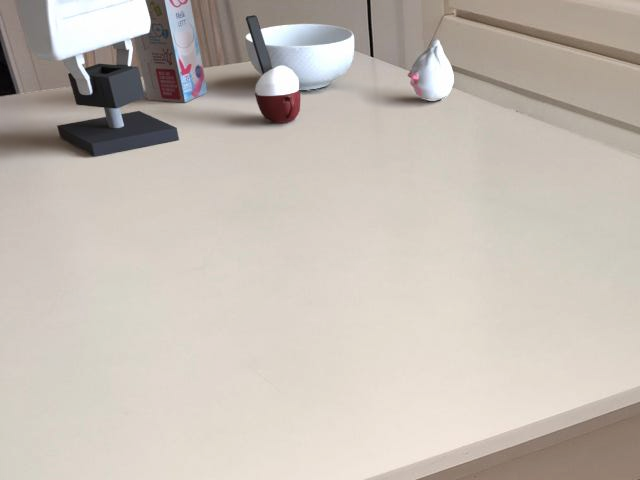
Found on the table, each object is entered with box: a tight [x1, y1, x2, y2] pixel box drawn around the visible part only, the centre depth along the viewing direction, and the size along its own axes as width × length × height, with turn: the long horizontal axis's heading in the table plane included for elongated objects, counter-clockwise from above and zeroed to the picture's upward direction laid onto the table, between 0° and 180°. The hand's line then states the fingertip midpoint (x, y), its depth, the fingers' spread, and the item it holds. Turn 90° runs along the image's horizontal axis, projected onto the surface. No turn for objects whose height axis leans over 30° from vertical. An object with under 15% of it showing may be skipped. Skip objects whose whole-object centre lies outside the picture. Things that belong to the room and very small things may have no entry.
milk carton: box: [133, 0, 208, 104], centre depth 134 cm, size 7×7×22 cm
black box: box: [67, 63, 146, 109], centre depth 120 cm, size 6×6×4 cm
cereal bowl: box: [244, 23, 355, 90], centre depth 144 cm, size 17×17×7 cm
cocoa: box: [245, 14, 301, 124], centre depth 127 cm, size 10×6×12 cm, turn 12°
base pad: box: [56, 107, 180, 157], centre depth 123 cm, size 12×12×5 cm
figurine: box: [407, 38, 455, 99], centre depth 136 cm, size 6×7×8 cm
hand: (107, 87), depth 120 cm, fingers closed on black box, 6 cm apart
